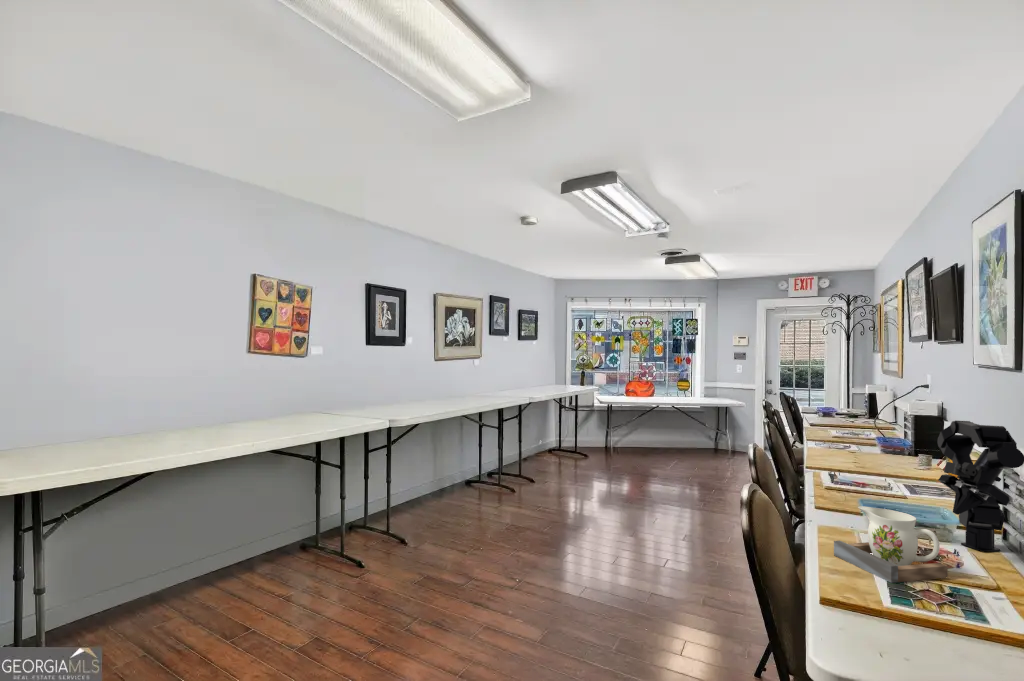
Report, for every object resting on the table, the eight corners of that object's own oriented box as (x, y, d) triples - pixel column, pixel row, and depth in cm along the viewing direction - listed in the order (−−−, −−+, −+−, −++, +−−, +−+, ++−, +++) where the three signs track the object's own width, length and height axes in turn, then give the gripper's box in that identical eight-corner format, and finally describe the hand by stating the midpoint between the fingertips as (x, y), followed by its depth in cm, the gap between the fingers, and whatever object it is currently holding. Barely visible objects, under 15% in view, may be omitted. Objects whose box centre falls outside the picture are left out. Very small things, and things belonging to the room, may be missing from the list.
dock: (885, 551, 153) (885, 537, 153) (947, 577, 135) (947, 562, 135) (833, 555, 150) (833, 540, 150) (891, 582, 132) (891, 566, 132)
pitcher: (935, 581, 133) (935, 526, 133) (852, 560, 146) (852, 510, 146) (943, 569, 140) (942, 517, 141) (863, 550, 153) (863, 502, 154)
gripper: (937, 446, 160) (907, 489, 160) (987, 454, 141) (953, 502, 141) (971, 469, 159) (941, 512, 158) (1026, 480, 140) (992, 529, 140)
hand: (955, 513), depth 149 cm, fingers closed
